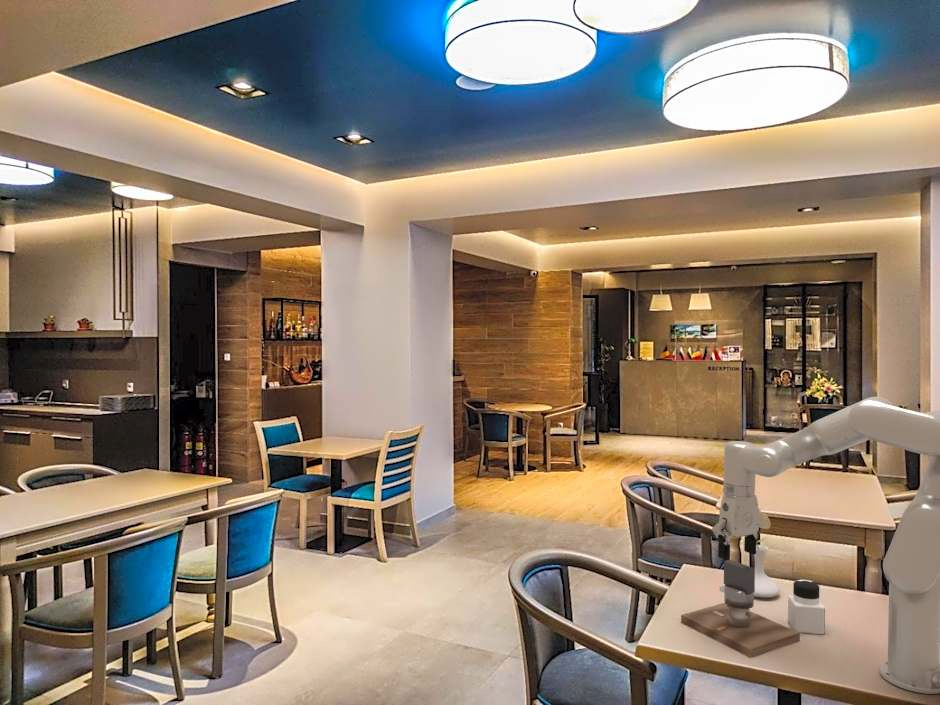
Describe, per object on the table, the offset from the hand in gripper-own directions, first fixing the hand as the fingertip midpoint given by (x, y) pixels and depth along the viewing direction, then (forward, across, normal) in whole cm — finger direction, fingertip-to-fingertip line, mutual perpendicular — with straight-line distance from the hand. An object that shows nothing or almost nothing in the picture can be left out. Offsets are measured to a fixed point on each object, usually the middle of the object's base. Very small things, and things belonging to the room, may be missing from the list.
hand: (737, 555), depth 172 cm
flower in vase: (+20, +26, +14) cm, 36 cm away
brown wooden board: (+20, 0, -1) cm, 20 cm away
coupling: (+12, 0, 0) cm, 12 cm away
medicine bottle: (+20, +17, -8) cm, 27 cm away
